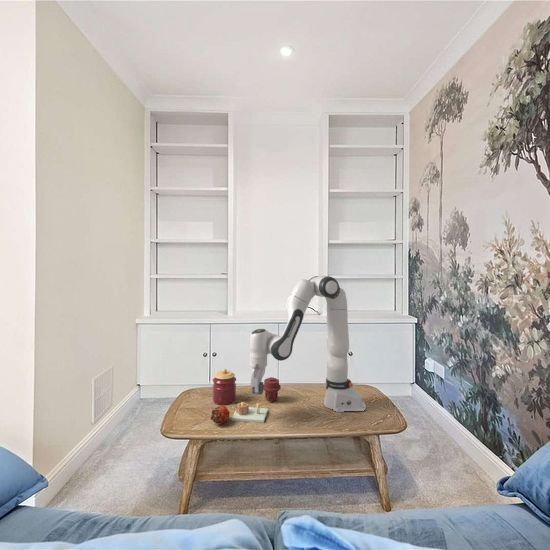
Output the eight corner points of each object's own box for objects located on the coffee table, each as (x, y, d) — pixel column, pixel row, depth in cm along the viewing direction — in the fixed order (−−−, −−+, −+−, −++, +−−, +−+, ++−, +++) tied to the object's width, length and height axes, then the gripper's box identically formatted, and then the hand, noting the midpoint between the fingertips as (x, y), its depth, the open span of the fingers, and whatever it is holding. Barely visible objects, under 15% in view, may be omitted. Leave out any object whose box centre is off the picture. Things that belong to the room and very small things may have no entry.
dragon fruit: (216, 432, 150) (220, 423, 162) (231, 421, 151) (234, 412, 163) (206, 416, 151) (210, 409, 163) (221, 405, 152) (224, 398, 164)
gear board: (267, 410, 169) (267, 399, 169) (263, 422, 156) (263, 410, 156) (237, 408, 171) (237, 396, 171) (231, 420, 159) (231, 407, 158)
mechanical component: (280, 396, 187) (280, 404, 177) (263, 396, 187) (262, 403, 177) (280, 375, 187) (280, 382, 177) (263, 375, 187) (262, 381, 177)
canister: (208, 403, 178) (208, 371, 177) (219, 394, 190) (219, 364, 189) (229, 406, 174) (229, 374, 173) (239, 397, 186) (240, 366, 185)
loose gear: (263, 390, 165) (263, 382, 165) (261, 394, 160) (261, 385, 160) (253, 390, 166) (253, 381, 166) (251, 394, 161) (251, 385, 161)
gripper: (260, 369, 152) (260, 398, 152) (267, 356, 172) (267, 382, 172) (247, 368, 152) (247, 397, 153) (256, 355, 173) (255, 381, 173)
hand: (257, 389), depth 163 cm, fingers closed on loose gear, 5 cm apart
